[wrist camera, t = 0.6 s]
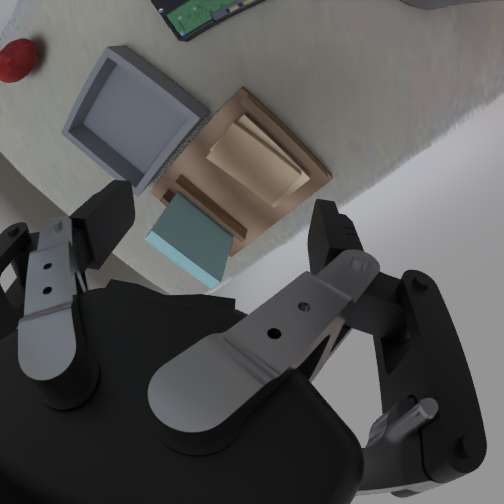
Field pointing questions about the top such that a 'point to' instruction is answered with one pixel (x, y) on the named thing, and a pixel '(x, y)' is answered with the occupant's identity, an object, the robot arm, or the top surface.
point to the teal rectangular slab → (192, 240)
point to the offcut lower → (265, 136)
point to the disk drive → (198, 14)
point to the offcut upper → (254, 163)
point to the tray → (131, 117)
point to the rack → (227, 187)
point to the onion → (17, 60)
